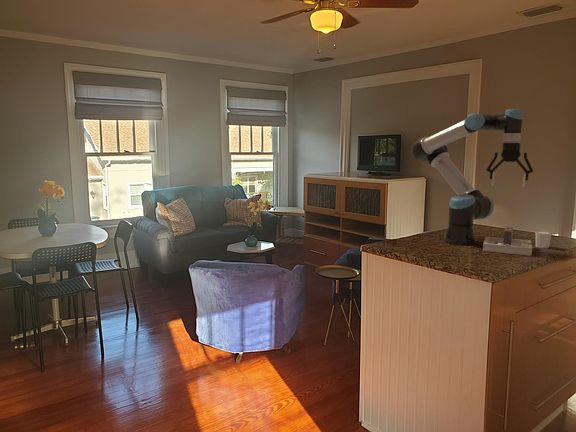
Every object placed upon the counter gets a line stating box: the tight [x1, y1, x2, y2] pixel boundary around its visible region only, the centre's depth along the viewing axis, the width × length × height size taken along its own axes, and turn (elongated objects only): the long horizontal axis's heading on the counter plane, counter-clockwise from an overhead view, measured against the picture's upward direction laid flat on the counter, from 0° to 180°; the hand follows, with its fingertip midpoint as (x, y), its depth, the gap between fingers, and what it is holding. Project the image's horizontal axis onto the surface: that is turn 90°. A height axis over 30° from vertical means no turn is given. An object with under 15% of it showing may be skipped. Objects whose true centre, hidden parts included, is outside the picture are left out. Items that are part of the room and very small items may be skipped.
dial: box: [494, 226, 522, 246], centre depth 211 cm, size 12×12×8 cm
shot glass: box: [534, 231, 552, 249], centre depth 217 cm, size 7×7×7 cm
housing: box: [482, 236, 533, 257], centre depth 212 cm, size 20×18×4 cm
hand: (507, 186), depth 218 cm, fingers open, 13 cm apart
